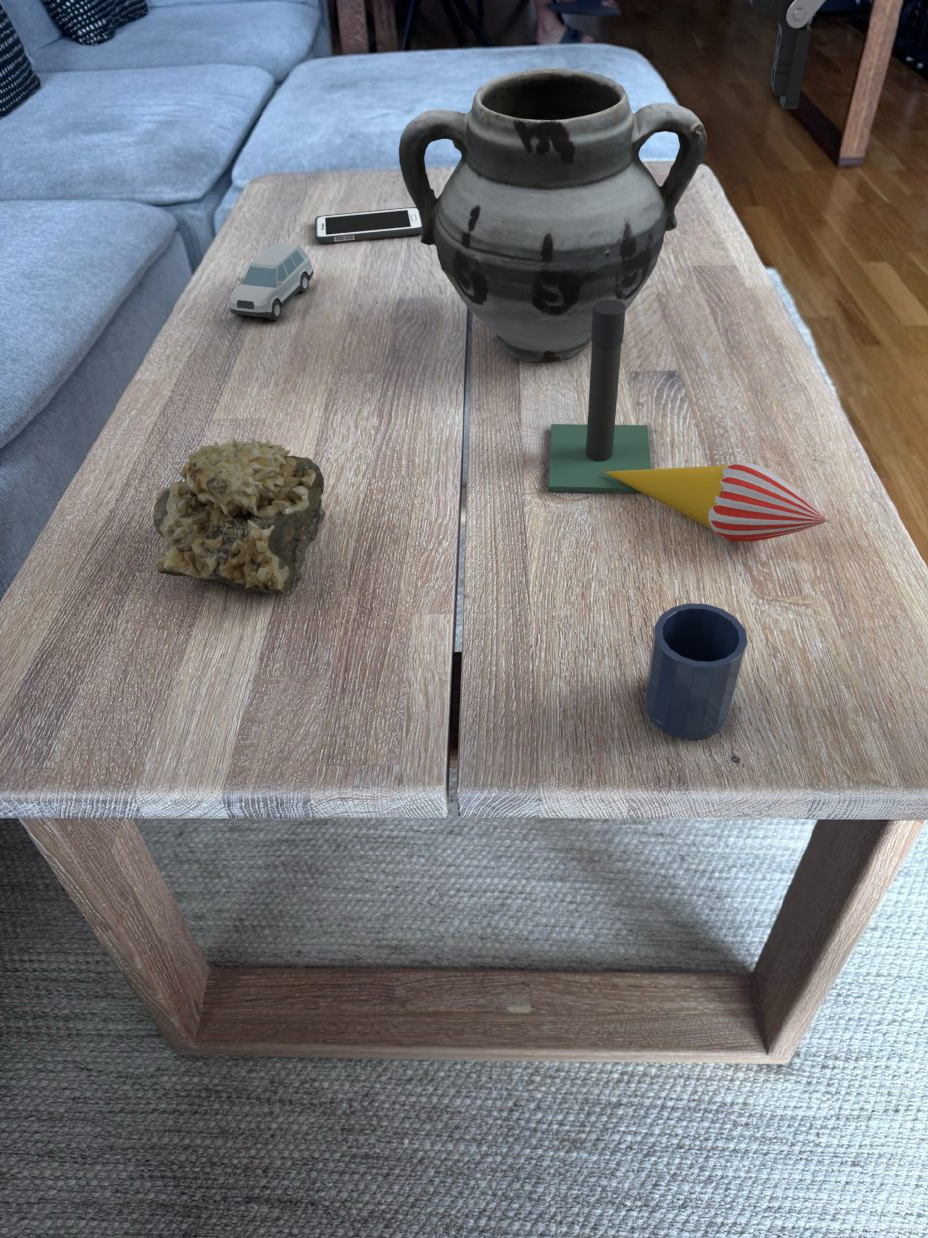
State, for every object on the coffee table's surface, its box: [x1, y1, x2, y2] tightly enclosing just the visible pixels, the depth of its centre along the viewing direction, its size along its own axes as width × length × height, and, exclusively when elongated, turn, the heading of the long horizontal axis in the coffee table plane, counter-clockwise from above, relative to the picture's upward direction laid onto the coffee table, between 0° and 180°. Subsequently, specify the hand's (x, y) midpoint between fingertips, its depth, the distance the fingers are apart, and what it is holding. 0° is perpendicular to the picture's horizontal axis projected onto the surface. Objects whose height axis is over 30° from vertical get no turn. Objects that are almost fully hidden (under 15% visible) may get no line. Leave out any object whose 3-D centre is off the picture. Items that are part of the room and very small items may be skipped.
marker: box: [586, 300, 627, 461], centre depth 77 cm, size 3×3×14 cm
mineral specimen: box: [152, 438, 326, 596], centre depth 71 cm, size 14×13×10 cm
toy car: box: [229, 242, 315, 321], centre depth 107 cm, size 6×13×5 cm, turn 162°
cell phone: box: [314, 206, 422, 244], centre depth 123 cm, size 8×15×1 cm, turn 97°
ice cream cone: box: [604, 462, 829, 543], centre depth 74 cm, size 6×6×20 cm
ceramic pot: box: [398, 67, 708, 363], centre depth 90 cm, size 29×23×25 cm
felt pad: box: [547, 423, 652, 494], centre depth 82 cm, size 9×10×1 cm
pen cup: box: [644, 603, 749, 740], centre depth 59 cm, size 6×6×7 cm
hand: (870, 104), depth 49 cm, fingers open, 8 cm apart
